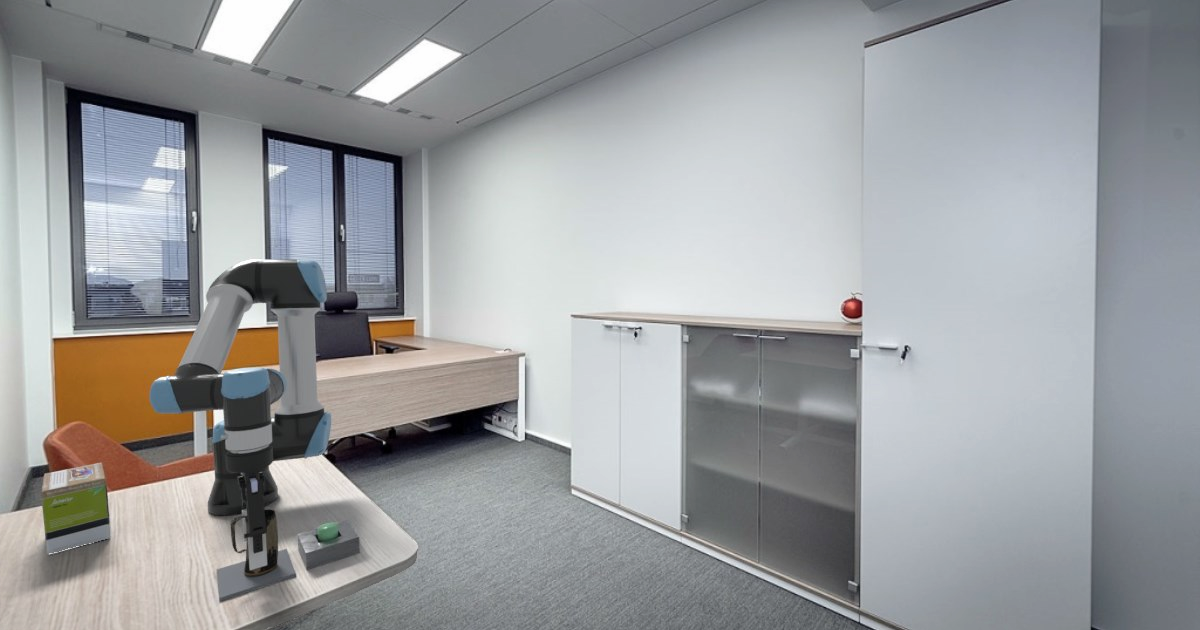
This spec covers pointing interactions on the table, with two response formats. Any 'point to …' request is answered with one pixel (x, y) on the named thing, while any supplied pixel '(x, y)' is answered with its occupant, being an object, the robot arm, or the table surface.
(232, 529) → the mug
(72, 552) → the table surface
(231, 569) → the mat
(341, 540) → the button box
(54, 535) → the tea box
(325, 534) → the button
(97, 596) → the table surface
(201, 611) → the table surface
